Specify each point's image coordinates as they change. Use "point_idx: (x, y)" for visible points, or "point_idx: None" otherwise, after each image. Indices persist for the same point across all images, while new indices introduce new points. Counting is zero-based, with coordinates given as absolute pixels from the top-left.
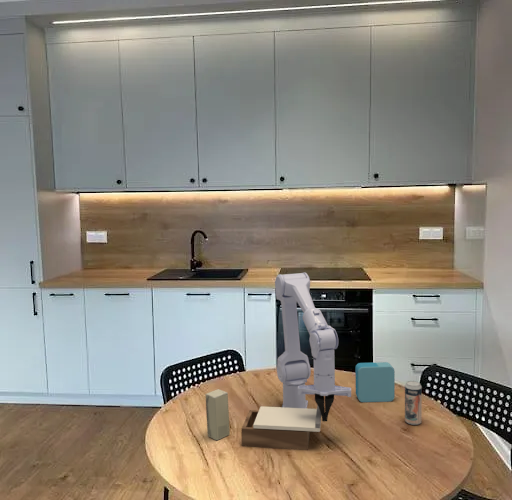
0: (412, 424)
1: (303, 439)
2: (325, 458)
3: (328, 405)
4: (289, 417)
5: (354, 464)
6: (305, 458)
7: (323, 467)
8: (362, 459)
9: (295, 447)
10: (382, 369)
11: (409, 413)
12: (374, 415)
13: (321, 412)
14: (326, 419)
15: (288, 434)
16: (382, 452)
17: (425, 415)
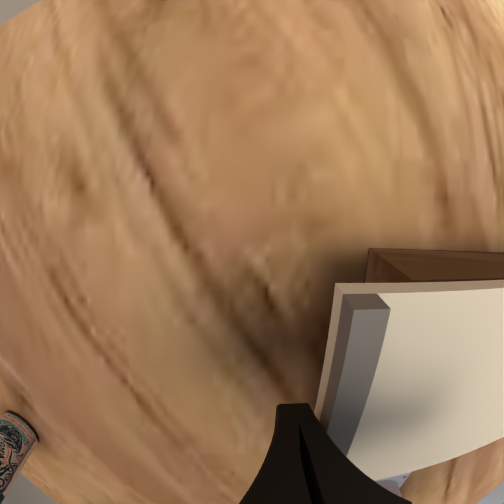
0: (16, 416)
1: (411, 264)
2: (283, 173)
3: (273, 496)
4: (479, 388)
5: (139, 135)
6: (380, 168)
7: (292, 89)
8: (104, 187)
9: (423, 252)
10: None
11: (7, 439)
12: (117, 475)
13: (328, 443)
14: (283, 411)
15: (484, 272)
16: (40, 259)
17: None
